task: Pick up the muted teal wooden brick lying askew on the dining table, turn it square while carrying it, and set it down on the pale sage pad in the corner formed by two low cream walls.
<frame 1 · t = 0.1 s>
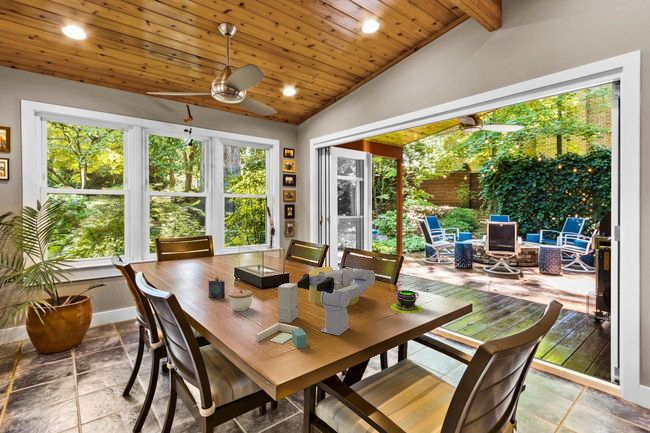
hand: (307, 286, 108), 22 cm above the table, tool horizontal, fingers open, 7 cm apart
toy cauldron: (406, 308, 153), on the table
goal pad: (282, 338, 118), on the table
skincare box: (287, 319, 138), on the table
corner walls: (282, 338, 118), on the table
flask: (216, 297, 170), on the table
cheese: (333, 299, 168), on the table
teal brick: (299, 344, 113), on the table
lidded jar: (241, 309, 151), on the table
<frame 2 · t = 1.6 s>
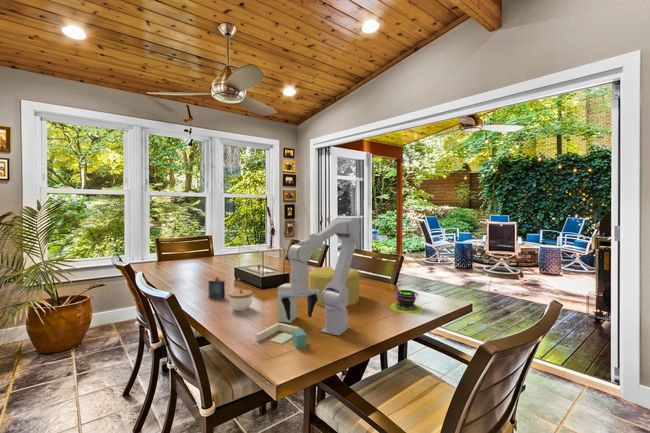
hand: (299, 317, 113), 9 cm above the table, tool pointing down, fingers open, 7 cm apart
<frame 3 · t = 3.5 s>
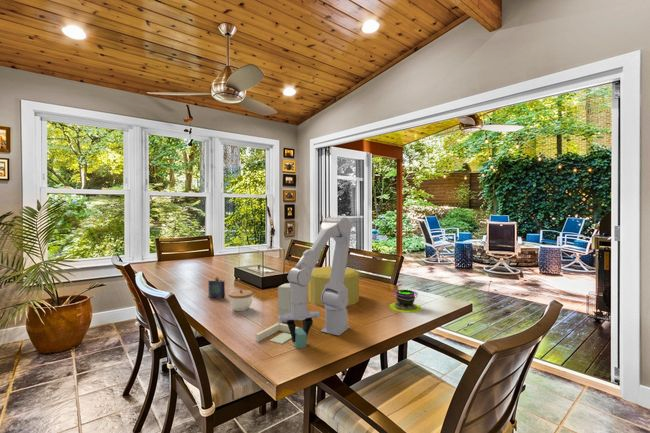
hand: (299, 340, 113), 1 cm above the table, tool pointing down, fingers closed on teal brick, 3 cm apart
teal brick: (299, 344, 113), on the table, touching gripper
when the fingers open (3 cm above the table, at t = 6.9 s): teal brick stays where it is, resting on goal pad.
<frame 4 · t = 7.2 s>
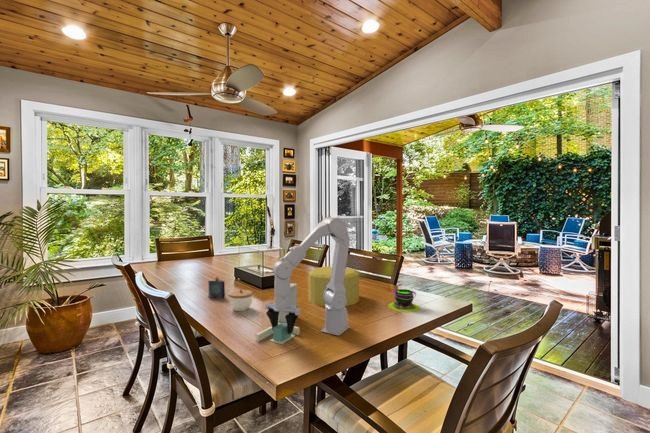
hand: (282, 331, 118), 3 cm above the table, tool pointing down, fingers open, 6 cm apart
teal brick: (282, 337, 118), resting on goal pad
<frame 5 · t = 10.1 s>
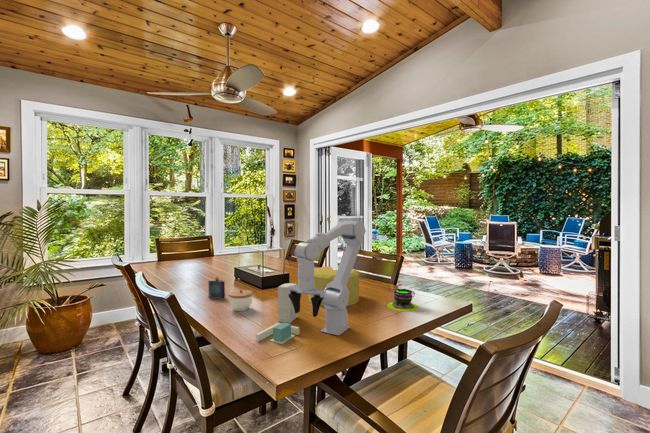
hand: (306, 314, 115), 10 cm above the table, tool pointing down, fingers open, 7 cm apart
at the end: teal brick 0.2 cm from the target spot, resting on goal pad; teal brick tilted 0°; the gripper is holding nothing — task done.
